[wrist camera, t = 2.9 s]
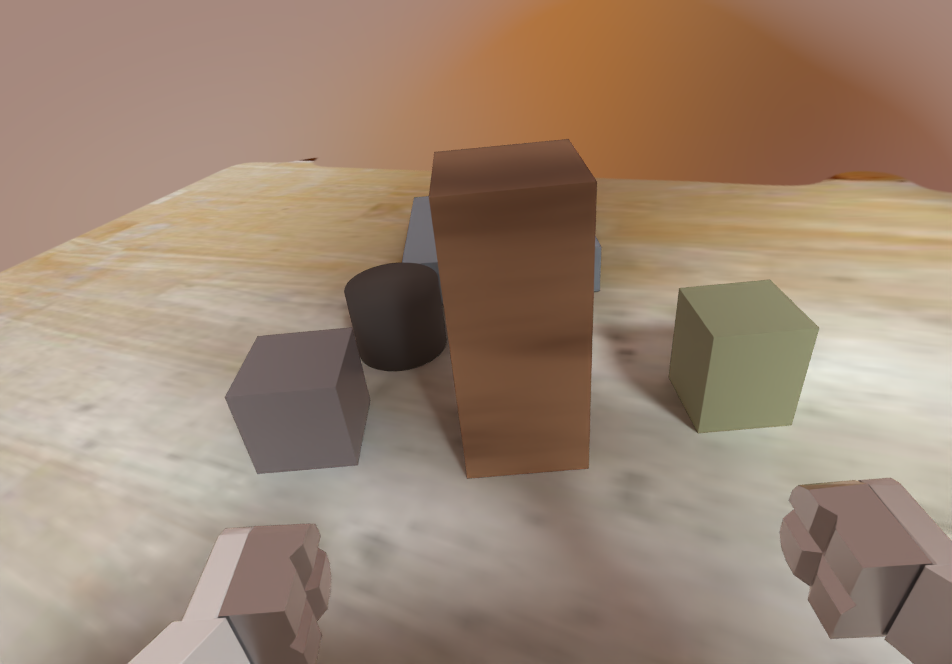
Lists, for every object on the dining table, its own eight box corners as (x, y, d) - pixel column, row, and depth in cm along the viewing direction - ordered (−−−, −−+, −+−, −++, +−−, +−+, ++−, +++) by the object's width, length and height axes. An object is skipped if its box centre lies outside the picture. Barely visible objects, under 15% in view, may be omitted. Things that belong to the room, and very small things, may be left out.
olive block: (668, 377, 28) (679, 288, 25) (750, 370, 28) (770, 279, 25) (697, 433, 24) (714, 337, 22) (791, 426, 24) (819, 327, 22)
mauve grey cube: (283, 409, 28) (257, 336, 26) (370, 401, 28) (352, 327, 26) (258, 475, 25) (224, 397, 22) (357, 466, 25) (335, 387, 22)
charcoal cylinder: (404, 313, 35) (394, 255, 33) (464, 338, 32) (457, 275, 30) (341, 352, 32) (325, 291, 30) (401, 383, 29) (388, 317, 27)
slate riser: (419, 233, 46) (414, 197, 44) (567, 219, 45) (567, 183, 44) (408, 308, 36) (401, 265, 34) (599, 290, 35) (601, 246, 34)
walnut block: (465, 400, 27) (434, 152, 21) (568, 391, 27) (568, 139, 21) (467, 478, 23) (428, 197, 17) (588, 468, 23) (596, 181, 17)
